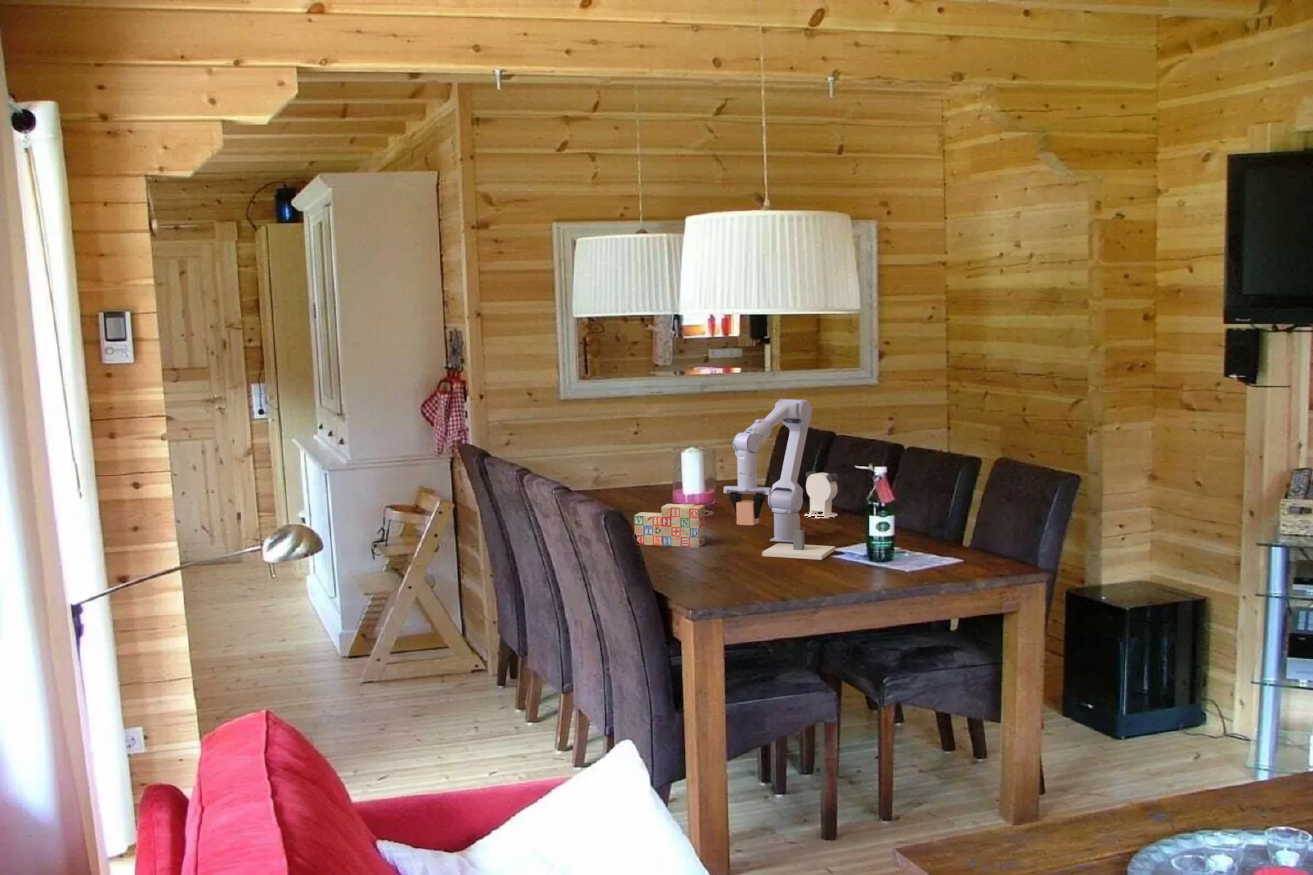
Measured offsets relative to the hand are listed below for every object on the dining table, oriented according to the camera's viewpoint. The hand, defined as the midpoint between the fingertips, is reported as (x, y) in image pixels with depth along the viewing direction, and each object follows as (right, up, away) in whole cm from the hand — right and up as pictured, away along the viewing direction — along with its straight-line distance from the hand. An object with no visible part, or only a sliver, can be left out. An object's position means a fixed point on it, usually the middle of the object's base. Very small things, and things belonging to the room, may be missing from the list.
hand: (747, 517), depth 378 cm
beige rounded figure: (+30, -3, +57) cm, 64 cm away
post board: (+15, -10, -5) cm, 19 cm away
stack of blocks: (-23, -9, +14) cm, 29 cm away
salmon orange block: (0, -2, 0) cm, 2 cm away
